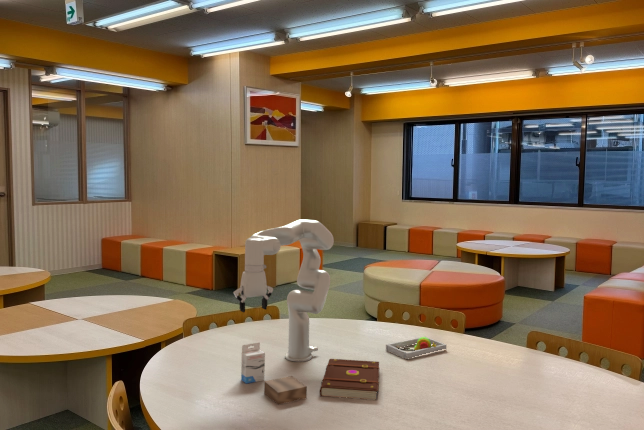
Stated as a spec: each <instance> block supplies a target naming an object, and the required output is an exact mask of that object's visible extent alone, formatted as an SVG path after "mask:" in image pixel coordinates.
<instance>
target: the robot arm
mask: <svg viewBox="0 0 644 430" xmlns="http://www.w3.org/2000/svg"><path fill="white" fill-rule="evenodd" d="M334 238H335V237H334V236H333V234H332V232H331V231H330V230H329V229H328V228H327V227H326V226H325V225H324V224H323V223H321V222H320V221H318V220H315V219H304V218H303V219H301V218H300V219H297V220H295V221H291V222H290V223H287V224H285V225H283V226H278V227H274V228H269V229H265V230H264V229H263V230H261V231H259V232H256V233H254V234H252V235H251V236H250V237H248V238H246V240H245V241H244V242H245V244H244V246H245V247H244V271H242V274H241V279H240V286H239V288H237V289H236V290H234V291H233V292H232V293H233V295H234V296H235V299H236V300H237V301H238V302H239V310H240V312H242V313H245V312H246V302H245V301H246V299H247V298H254V297H255V298H257V297H262V299H261V309H263V310H267V308H268V300H269V299H270V297H271V296H272V293H273V291H274V288H273V287H271V286H269V285H267V277H266V271H265V269H267V264H265V262H264V261H265V260H264V257H265V256H266V255H267V256H273V255H276V254H277V253H278V252H279V251H280V250H281V248H282V247H281V246H283V247H284V246H289V245H293V244H294V243H295V242H297V241H299V243H300V246H301V250H302V253H303V258H302V261H301V265H300V268H299V271H298V274H297V278H296V284H297V286H299V287H300V288H302V289H293V290H291V291H289V293H288V294H287V297H286V304H287V310H288V347H287V348H288V352H286V353H285V354H284V358H285V359H286V360H287V361H291V362H297V363H298V362H300V363H301V362H308V361H310V360H311V359H312V358H313V354H312V353H313V352H318V351H319V347H318V346H314V347H313V346H310V317H309V314H312V315H313V314H319V313H321V312H322V310H323V309H324V306H325V303H326V300H327V296H328V293H329V289H330V286H331V276H330V274H329V272H328V271H326V270H323V269H320V266H321V263H322V261H321V260H322V259H321V256H320V252H318V250H320V251H327V250H331V248H332V247H333V246H334V243H335V242H334V241H335V240H334ZM303 289H307V290H303ZM267 290H268V291H267ZM310 290H311V291H310ZM239 294H240V295H239ZM308 313H309V314H308Z"/></svg>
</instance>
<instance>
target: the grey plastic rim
mask: <svg viewBox="0 0 644 430" xmlns="http://www.w3.org/2000/svg"><path fill="white" fill-rule="evenodd" d="M421 337H422V336H420V337H415V338H411V339H406V340H400V341H396V342H391V343H386V344H385V351H386V352H388V353H390V352H391V354H393V355H395V354H396V355H395V356H397V355H398V356H397V357H399V356H401V357H400V358H402V357H403V358H402V359H404V358H406V359H408V358H412V357H415V356H419V355H422V354H426V353H430V352H434V351H438V350H442V349H446V350H447V344H446V343H443V342H440V341H438V340H435V339H433V338H430V337H427V336H425V337H426V338H428V339H429V340H430V342H431V344H433V343H435V345H436V347H429V348H425V349H420V350H416V351H414V350H412V351H408V352H407V351H405V350H403V349H398V348H396V346H399V348H400V347H403V348H405V347H404V346H407V345H412V344H415V343H417V341H418V339H419V338H421ZM406 359H405V360H406ZM412 359H413V358H412ZM408 360H409V359H408Z"/></svg>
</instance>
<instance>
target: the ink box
mask: <svg viewBox="0 0 644 430" xmlns="http://www.w3.org/2000/svg"><path fill="white" fill-rule="evenodd" d="M260 348H261V343H260V342H253V343H247V344H242V347H241V365H240V366H241V370H240V371H241V373H240V374H241V375H240V376H241V377H240V380H241V381H242V382H244V383H245V384H252V383H256V382H261V381H262V382H263V381H265V371H266V370H265V366H266V365H265V364H266V363H265V362H266V353H265V351H263V350H261V349H260Z"/></svg>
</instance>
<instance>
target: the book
mask: <svg viewBox="0 0 644 430" xmlns="http://www.w3.org/2000/svg"><path fill="white" fill-rule="evenodd" d="M379 378H380V361H371V360H359V359H358V360H357V359H356V360H355V359H342V358H341V359H340V358H329V360H328V362H327V365H326V366H325V372H324V375H323V378H322V380H321V383H320V388H319V395H320V397H328V398H339V397H341V398H342V399H353V398H360V399H359V400H367V399H376V394H377V393H376V392H377V391H378V392H379V391H380V390H379V389H380V386H379V385H380V382H379ZM377 395H378V394H377ZM346 397H347V398H346Z"/></svg>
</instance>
